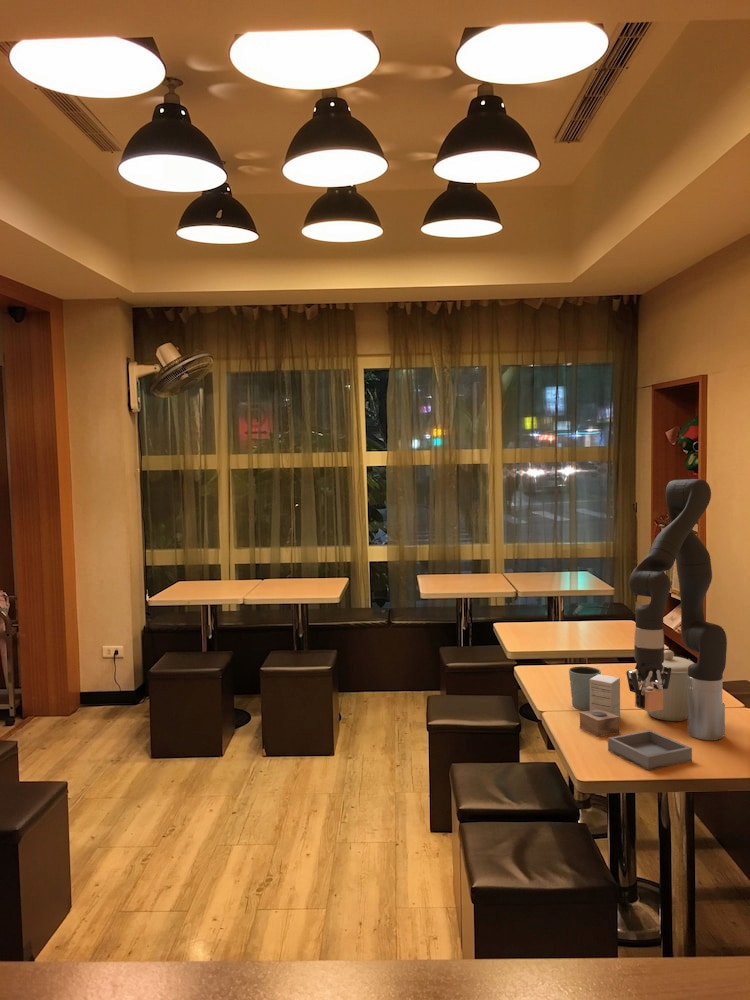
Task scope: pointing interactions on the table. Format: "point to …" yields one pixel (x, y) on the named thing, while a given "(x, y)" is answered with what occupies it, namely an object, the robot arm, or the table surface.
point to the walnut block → (599, 722)
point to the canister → (674, 689)
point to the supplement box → (605, 693)
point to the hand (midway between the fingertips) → (648, 706)
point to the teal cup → (581, 685)
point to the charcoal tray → (649, 749)
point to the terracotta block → (652, 699)
